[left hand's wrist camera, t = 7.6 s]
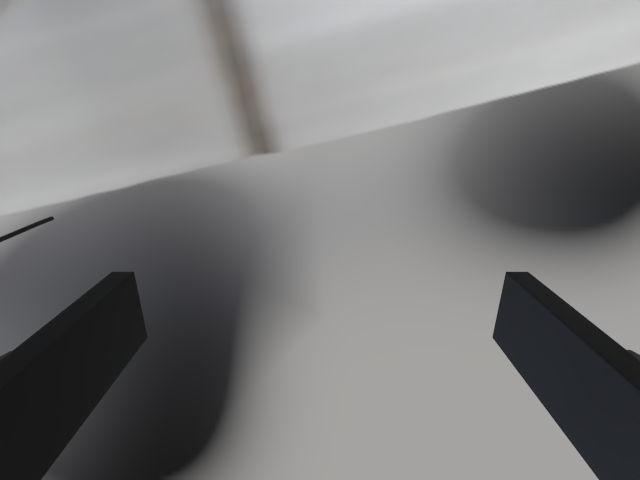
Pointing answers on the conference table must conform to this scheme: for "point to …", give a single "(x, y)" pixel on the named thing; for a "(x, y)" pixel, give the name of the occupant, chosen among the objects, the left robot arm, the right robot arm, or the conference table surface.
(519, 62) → the conference table surface
